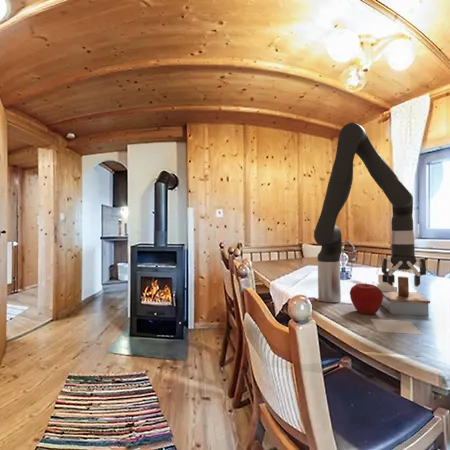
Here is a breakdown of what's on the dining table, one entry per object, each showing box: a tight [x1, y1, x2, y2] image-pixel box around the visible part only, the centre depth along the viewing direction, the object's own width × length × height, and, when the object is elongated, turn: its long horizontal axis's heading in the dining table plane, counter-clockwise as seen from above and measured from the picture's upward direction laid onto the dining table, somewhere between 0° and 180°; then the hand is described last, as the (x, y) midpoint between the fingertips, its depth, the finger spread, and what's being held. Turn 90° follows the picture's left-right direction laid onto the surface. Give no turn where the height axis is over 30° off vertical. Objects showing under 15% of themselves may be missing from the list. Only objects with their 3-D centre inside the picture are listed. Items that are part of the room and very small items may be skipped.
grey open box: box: [382, 296, 430, 316], centre depth 110 cm, size 12×12×5 cm
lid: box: [382, 276, 431, 304], centre depth 110 cm, size 13×13×8 cm
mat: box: [370, 318, 424, 335], centre depth 93 cm, size 12×12×1 cm
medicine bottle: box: [376, 272, 398, 304], centre depth 123 cm, size 7×7×12 cm
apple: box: [349, 283, 383, 316], centre depth 108 cm, size 11×11×12 cm
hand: (403, 285), depth 110 cm, fingers open, 8 cm apart
